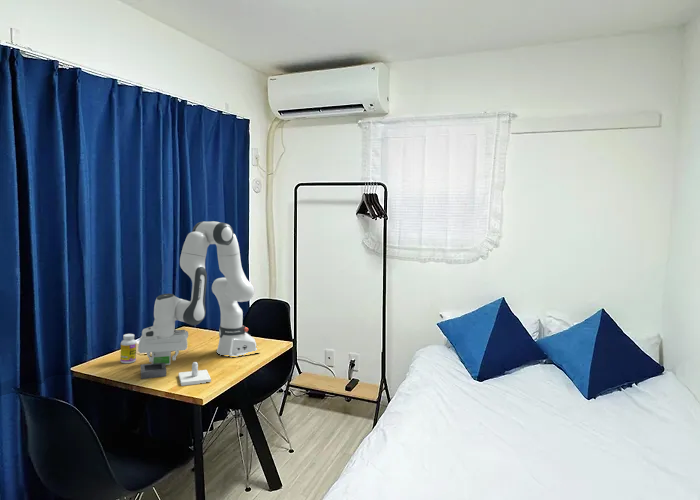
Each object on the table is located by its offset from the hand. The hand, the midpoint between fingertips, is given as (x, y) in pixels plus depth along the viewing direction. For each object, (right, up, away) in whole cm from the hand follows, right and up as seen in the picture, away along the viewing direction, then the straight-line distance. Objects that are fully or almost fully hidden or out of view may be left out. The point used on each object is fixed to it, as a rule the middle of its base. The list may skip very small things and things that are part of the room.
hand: (162, 360), depth 196 cm
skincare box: (-6, -5, +12) cm, 15 cm away
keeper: (+16, -7, -4) cm, 18 cm away
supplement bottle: (-22, -4, +12) cm, 25 cm away
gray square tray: (-4, -6, -1) cm, 7 cm away
